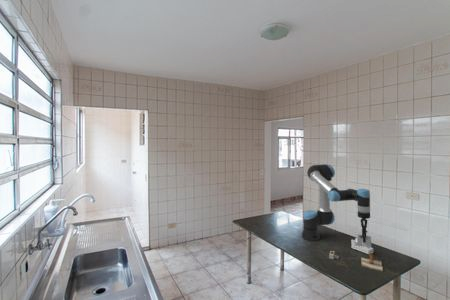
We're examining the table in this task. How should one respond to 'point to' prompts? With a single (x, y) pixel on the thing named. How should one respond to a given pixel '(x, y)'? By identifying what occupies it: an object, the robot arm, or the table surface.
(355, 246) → the bracket
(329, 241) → the table surface
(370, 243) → the link
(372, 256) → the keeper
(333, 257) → the beige box with knob
